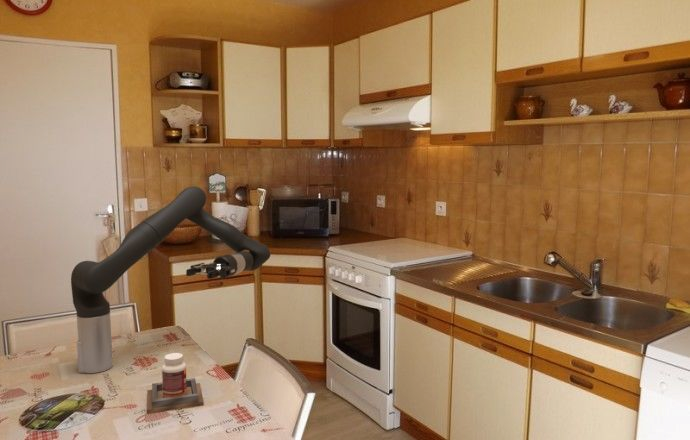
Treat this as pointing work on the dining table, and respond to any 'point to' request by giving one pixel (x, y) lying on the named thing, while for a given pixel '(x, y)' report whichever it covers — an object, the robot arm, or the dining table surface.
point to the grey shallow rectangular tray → (174, 398)
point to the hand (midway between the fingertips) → (197, 274)
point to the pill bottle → (174, 376)
